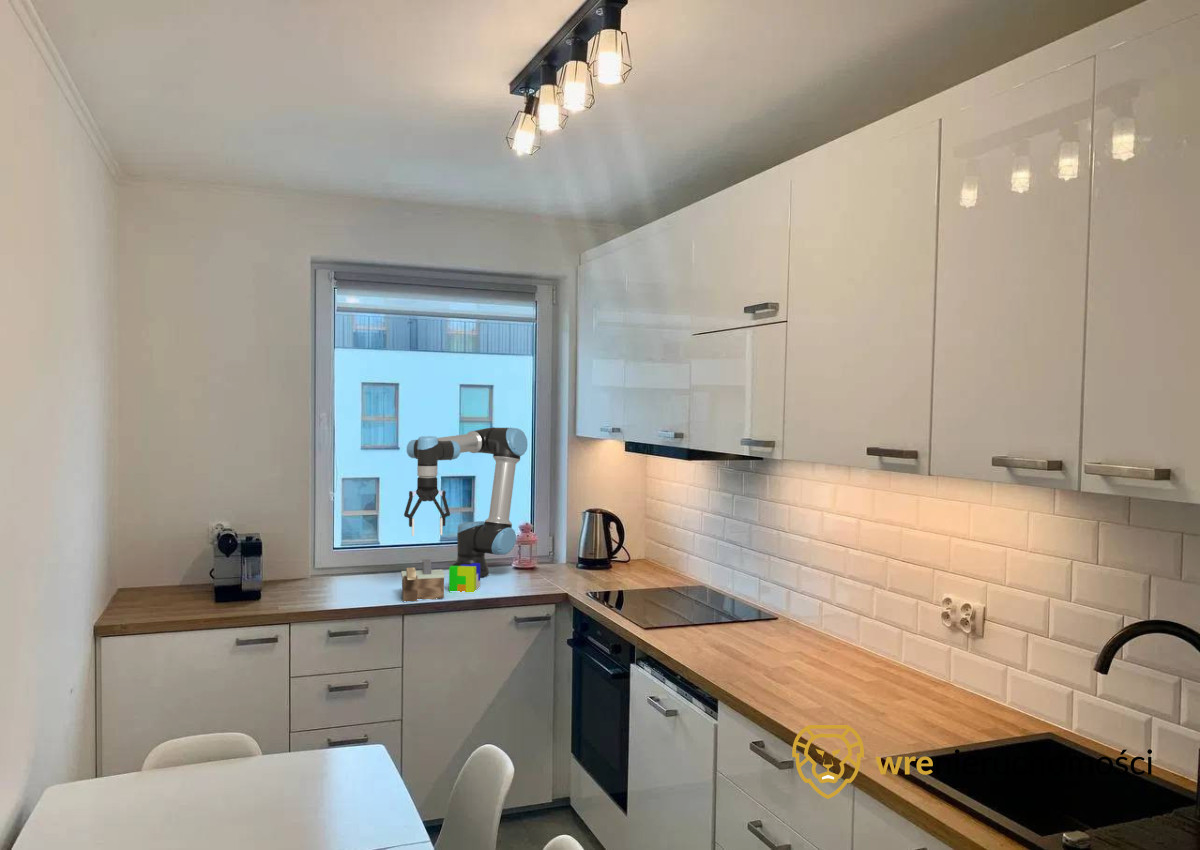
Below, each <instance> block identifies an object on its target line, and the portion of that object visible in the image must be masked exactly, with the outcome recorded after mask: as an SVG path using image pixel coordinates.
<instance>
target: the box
mask: <svg viewBox="0 0 1200 850" xmlns="http://www.w3.org/2000/svg"><path fill="white" fill-rule="evenodd" d="M401 596H403V597H402V601H403V602H404V601H417V602H418V600H417V599H431V600H439V599H438V598H444V599H445V578H426V579H418V577H417V576H416V580H407V576H404V577H403V579H402V578H401ZM436 598H437V599H436Z"/></svg>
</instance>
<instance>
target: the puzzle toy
mask: <svg viewBox="0 0 1200 850" xmlns="http://www.w3.org/2000/svg"><path fill="white" fill-rule="evenodd" d="M448 569H449V570H448V576H449V577H448V582H449V583H448V592H449V591H460V592H462V591H465V592H474V591H475V590H477V589H478V588H479V587H480V588H481V578H480V563H456V562H455V563H453V564H452V565H450V566H449V568H448ZM480 588H479V589H480ZM479 589H478V590H479ZM478 590H477V591H478Z"/></svg>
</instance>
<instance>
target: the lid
mask: <svg viewBox="0 0 1200 850" xmlns="http://www.w3.org/2000/svg"><path fill="white" fill-rule="evenodd" d="M400 572H401V574H400V575H401V580H402V579H403V577H404V576H406V570H402V571H400ZM416 576H417V577H418V579H426V578H444V579H445V578H446V577H445V572H444V570H443V569H432V561H431V559H422V569H419V570H416Z"/></svg>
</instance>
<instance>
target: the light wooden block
mask: <svg viewBox="0 0 1200 850" xmlns="http://www.w3.org/2000/svg"><path fill="white" fill-rule="evenodd" d="M405 569H406V570H405V571H406V576H407V580H416V571H417V570H416V567H406V568H405Z"/></svg>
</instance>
